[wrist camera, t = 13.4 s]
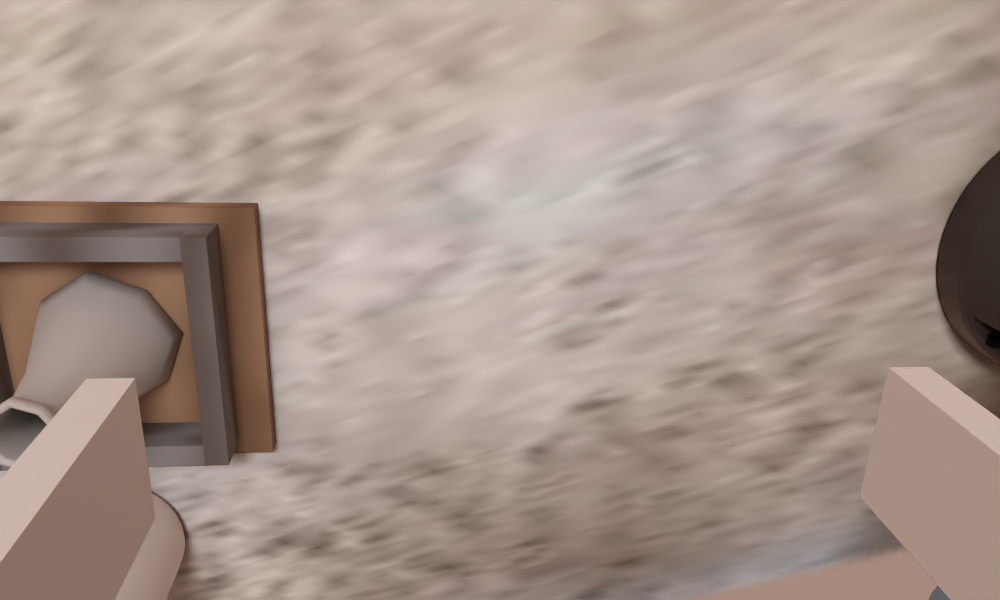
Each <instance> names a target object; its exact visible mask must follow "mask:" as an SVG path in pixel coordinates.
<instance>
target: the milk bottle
mask: <svg viewBox="0 0 1000 600" xmlns="http://www.w3.org/2000/svg"><path fill="white" fill-rule="evenodd" d="M152 498H153V505H154V512H155V520H154V522H153V524H152V526H151V528H150V530H149V532H148V534H147V536H146V538H145V540H144V542H143V544H142V546H141V548H140V550H139V552H138V554H137V556H136V558H135V560H134V562H133V564H132V566H131V568H130V570H129V572H128V574H127V576H126V578H125V580H124V582H123V584H122V586H121V588H120V590H119V592H118V594H117V596H116V598H115V600H166V599H167V597H168V594H169V592H170V589H171V587H172V585H173V582H174V580H175V577H176V575H177V572H178V570H179V567H180V564H181V561H182V559H183V555H184V551H185V536H184V532H183V528H182V524H181V522H180V520H179V519H178V516H177V514H176V513H175V512H174V511H173V509H172V508H171V507H170V505H168V504H167V503H166V502H165V501H164V500H163V499H161V498H160V497H159V496H157V495H155V494H153V493H152Z"/></svg>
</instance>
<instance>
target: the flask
mask: <svg viewBox="0 0 1000 600" xmlns="http://www.w3.org/2000/svg"><path fill="white" fill-rule="evenodd" d="M181 335H182V332H181V331H180V330H179V328H178V327H177V326H176V325H175V324H174V323H173V321H172V320H171V319H170V318H169V317H168V316H167V314H166V313H165V312H164V311H163V310H162V308H161V307H160V306H159V305H158V304H157V303H156V301H155V300H154V299H153V298H152V297H151V296H150V294H149V293H148V292H147V291H146V290H145V289H143V288H140V287H136V286H133V285H130V284H127V283H124V282H121V281H117V280H114V279H111V278H108V277H105V276H102V275H98V274H95V273H92V272H89V271H86V272H84V273H82V274H81V275H79V276H78V277H76V278H75V279H73V280H72V281H70V282H68V283H67V284H65V285H64V286H62V287H61V288H59V289H58V290H56V291H55V292H53V293H51V294H50V295H48V296H47V297H45V298H44V299H42V300H41V303H40V307H39V311H38V316H37V320H36V324H35V329H34V333H33V337H32V341H31V346H30V350H29V354H28V360H27V367H26V373H25V375H24V377H23V379H22V380H21V382H20V384H19V386H18V388H17V390H16V392H15V393H14V395H13V397H11V398H9V399H8V400H6V401H4V402H3V403H1V404H0V465H1V466H5V467H9V468H10V467H11V466H12V465H13V464H14V463H15V462H16V460H17V459H18V458H19V457H20V456H21V455H22V453H23V452H24V451H25V450H26V449H27V448H28V446H29V445H30V444H31V443H32V442H33V441H34V439H35V438H36V437H37V436H38V435H39V434H40V432H41V431H42V430H43V429H44V428H45V427H46V425H47V424H48V423H49V422H50V421H51V420H52V418H53V417H54V416H55V415H56V414H57V413H58V411H59V410H60V409H61V408H62V407H63V406H64V404H65V403H66V402H67V401H68V400H69V399H70V397H71V396H72V395H73V394H74V393H75V392H76V390H77V389H78V388H79V387H80V386H81V385H82V383H83V382H84V381H85V380H86V379H97V378H135V380H136V387H137V394H138V398H139V397H141V396H142V395H144V394H146V393H147V392H149V391H151V390H152V389H154V388H155V387H157V386H159V385H160V384H162V383H163V382H165V381H167V380H168V379H169V375H170V372H171V369H172V365H173V362H174V358H175V355H176V352H177V348H178V345H179V342H180V338H181Z"/></svg>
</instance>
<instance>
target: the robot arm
mask: <svg viewBox="0 0 1000 600" xmlns="http://www.w3.org/2000/svg"><path fill="white" fill-rule="evenodd" d="M937 273H938V288H939V294H940V299H941V303H942V306H943V309H944V311H945V314H946V316H947V318H948V320H949V322H950V323H951V325H952V327H953V328H954V329H955V331H956V332H957V333H958V335H959V336H960V337H961V338H962V339H963V340H964V341H965V342H967V343H968V344H969V345H970V346H972V347H973V348H974V349H976V350H977V351H979V352H980V353H982V354H984V355H985V356H987V357H988V358H990V359H992V360H993V361H995V362H996V363H998V364H1000V152H999V153H998V154H996V155H995V156H994V157H993V158H992V159H991V160H990V161H989V162H988V163H987V164H986V165H985V166H984V167H983V168H982V169H981V171H980V172H979V173H978V174H977V175H976V177H975V178H974V179H973V180H972V182H971V183H970V184H969V186H968V187H967V188H966V190H965V191H964V193H963V195H962V196H961V198H960V199H959V201H958V203H957V205H956V206H955V209H954V211H953V213H952V215H951V217H950V219H949V222H948V224H947V227H946V229H945V232H944V235H943V239H942V243H941V247H940V252H939V259H938V272H937ZM860 497H861V498H862V500H863V501H864V502H865V503H866V504H867V505H868V506H869V508H870V509H871V510H872V511H873V512H874V513H875V514H876V515H877V517H878V518H879V519H880V520H881V521H882V522H883V523H884V525H885V526H886V527H887V528H888V529H889V530H890V531H891V533H892V534H893V535H894V536H895V537H896V538H897V539H898V541H899V542H900V543H901V544H902V545H903V546H904V547H905V548H906V550H907V551H908V552H909V553H910V554H911V555H912V556H913V558H914V559H915V560H916V561H917V562H918V563H919V564H920V565H921V567H922V568H923V569H924V570H925V571H926V572H927V573H928V575H929V576H930V577H931V578H932V579H933V580H934V581H935V583H936V584H937V585H938V586H937V588H936V589H935V590H934V591H933V592H932V594H931V596H930V598H929V600H1000V419H999V418H998V417H996V416H995V415H993V414H992V413H991V412H989V411H988V410H987V409H985V408H984V407H983V406H981V405H980V404H978V403H977V402H976V401H974V400H973V399H972V398H970V397H969V396H968V395H966V394H965V393H963V392H962V391H961V390H959V389H958V388H957V387H955V386H954V385H952V384H951V383H950V382H948V381H947V380H946V379H944V378H943V377H942V376H940V375H939V374H937V373H936V372H935V371H933V370H932V369H931V368H929V367H889V368H888V372H887V377H886V381H885V386H884V390H883V394H882V399H881V403H880V408H879V412H878V417H877V421H876V425H875V430H874V434H873V439H872V443H871V448H870V452H869V457H868V461H867V465H866V470H865V474H864V479H863V483H862V488H861V492H860ZM154 520H155V512H154V505H153V498H152V491H151V484H150V477H149V470H148V463H147V456H146V449H145V442H144V435H143V428H142V422H141V415H140V408H139V401H138V394H137V387H136V380H135V378H97V379H86V380H85V381H84V382H83V383H82V385H81V386H80V387H79V388H78V389H77V390H76V392H75V393H74V394H73V395H72V396H71V397H70V399H69V400H68V401H67V402H66V403H65V404H64V406H63V407H62V408H61V409H60V410H59V411H58V413H57V414H56V415H55V416H54V417H53V418H52V420H51V421H50V422H49V423H48V424H47V425H46V427H45V428H44V429H43V430H42V431H41V432H40V434H39V435H38V436H37V437H36V438H35V439H34V441H33V442H32V443H31V444H30V445H29V446H28V448H27V449H26V450H25V451H24V452H23V453H22V455H21V456H20V457H19V458H18V459H17V460H16V462H15V463H14V464H13V465H12V466H11V467H10V469H9V470H8V471H7V472H6V473H5V475H4V476H3V477H2V478H1V479H0V600H115V598H116V596H117V594H118V592H119V590H120V588H121V586H122V584H123V582H124V580H125V578H126V576H127V574H128V572H129V570H130V568H131V566H132V564H133V562H134V560H135V558H136V556H137V554H138V552H139V550H140V548H141V546H142V544H143V542H144V540H145V538H146V536H147V534H148V532H149V530H150V528H151V526H152V524H153V522H154Z"/></svg>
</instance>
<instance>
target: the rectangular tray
mask: <svg viewBox="0 0 1000 600" xmlns="http://www.w3.org/2000/svg"><path fill="white" fill-rule="evenodd" d="M86 271H89V272H92V273H95V274H98V275H102V276H105V277H108V278H111V279H114V280H117V281H121V282H124V283H127V284H130V285H133V286H136V287H140V288H143V289H145V290H146V291H147V292H148V293H149V294H150V296H151V297H152V298H153V299H154V300H155V301H156V303H157V304H158V305H159V306H160V307H161V308H162V310H163V311H164V312H165V313H166V314H167V316H168V317H169V318H170V319H171V320H172V321H173V323H174V324H175V325H176V326H177V327H178V328H179V330H180V331H181V332H182V335H181V338H180V342H179V345H178V348H177V352H176V355H175V358H174V362H173V365H172V369H171V372H170V375H169V379H168V380H167V381H165V382H163V383H162V384H160V385H159V386H157V387H155V388H154V389H152V390H151V391H149V392H147V393H146V394H144V395H142V396H141V397H139V398H138V401H139V408H140V415H141V422H142V428H143V435H144V442H145V449H146V456H147V463H148V467H168V466H209V465H229V463H230V461H231V458H232V456H233V453H253V452H273V450H274V447H275V444H276V440H275V426H274V413H273V400H272V387H271V374H270V361H269V348H268V335H267V322H266V309H265V296H264V283H263V270H262V257H261V244H260V231H259V218H258V205H257V203H167V202H41V201H0V404H1V403H3V402H4V401H6V400H8V399H9V398H11V397H13V395H14V393H15V392H16V390H17V388H18V386H19V384H20V382H21V380H22V379H23V377H24V375H25V373H26V367H27V360H28V354H29V350H30V346H31V341H32V337H33V333H34V329H35V324H36V320H37V316H38V311H39V307H40V303H41V300H42V299H44V298H45V297H47V296H48V295H50V294H51V293H53V292H55V291H56V290H58V289H59V288H61V287H62V286H64V285H65V284H67V283H68V282H70V281H72V280H73V279H75V278H76V277H78V276H79V275H81V274H82V273H84V272H86ZM9 469H10V468H9V467H5V466H1V465H0V471H5V470H9Z"/></svg>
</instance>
